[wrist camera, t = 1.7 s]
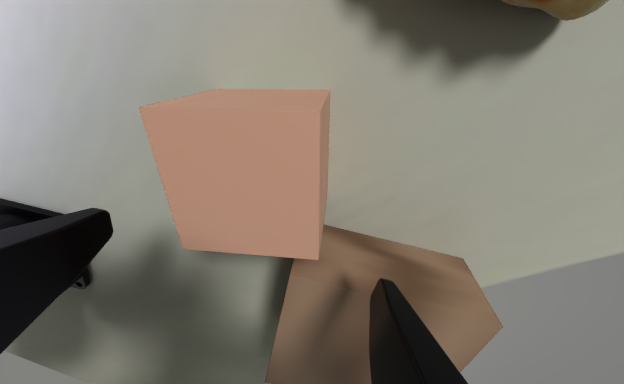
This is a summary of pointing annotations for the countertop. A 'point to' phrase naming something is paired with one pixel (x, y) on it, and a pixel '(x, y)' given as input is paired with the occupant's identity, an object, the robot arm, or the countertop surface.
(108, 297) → the countertop surface
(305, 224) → the terracotta cube
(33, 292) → the robot arm
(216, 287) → the countertop surface
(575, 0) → the pastry
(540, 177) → the countertop surface
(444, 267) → the brown wooden square block
